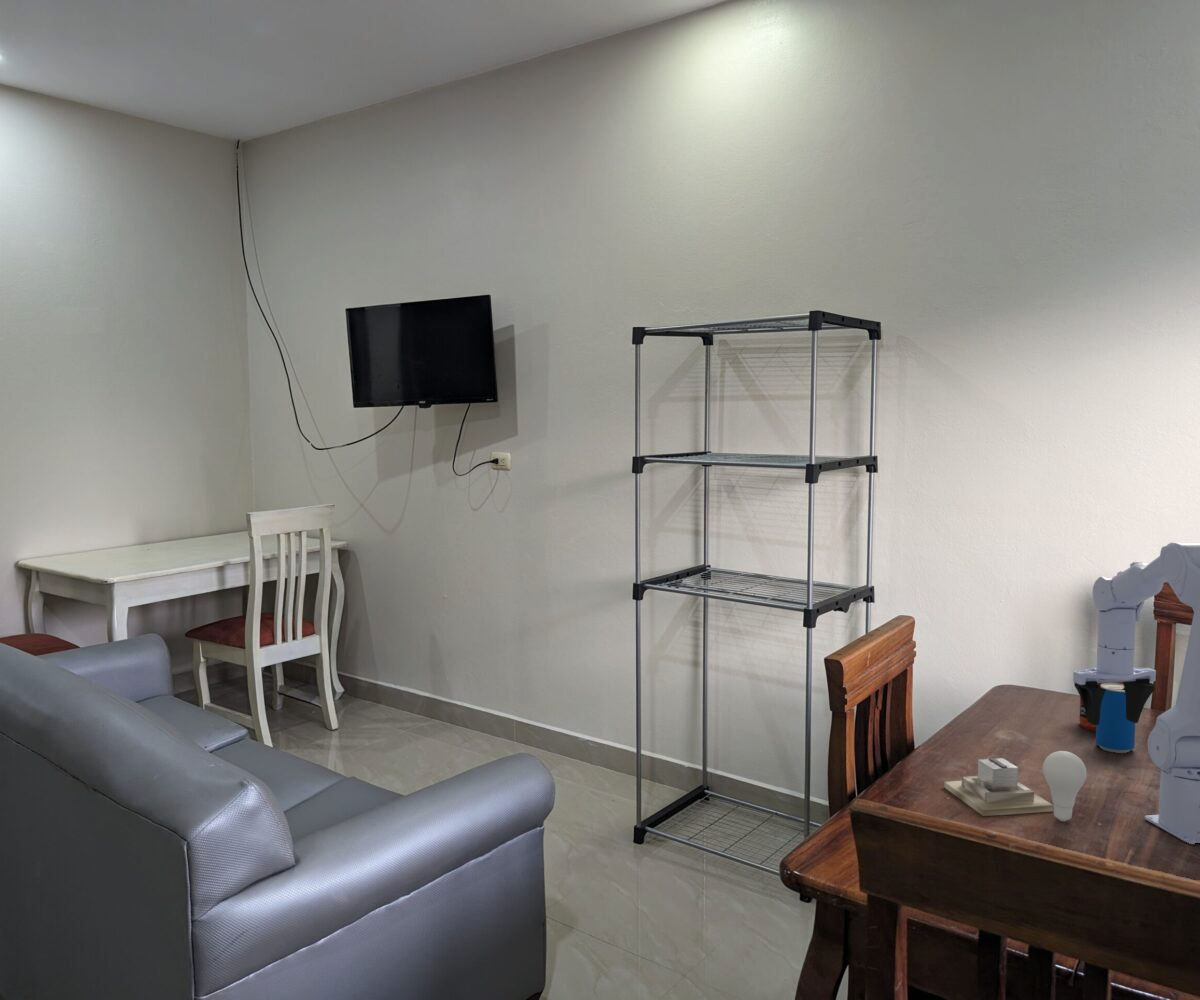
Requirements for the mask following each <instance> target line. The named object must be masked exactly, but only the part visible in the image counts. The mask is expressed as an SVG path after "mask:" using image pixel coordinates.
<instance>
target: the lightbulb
mask: <svg viewBox="0 0 1200 1000" xmlns="http://www.w3.org/2000/svg"><path fill="white" fill-rule="evenodd" d="M1042 773H1043V776H1044V779H1045V781H1046V783H1047V784H1048V786H1049V790H1050V792H1051V802H1052V805H1053V816H1054V817H1055V818H1057V820H1059V821H1060V822H1067V821H1069V820H1071V819H1073V818H1072V817H1073V807H1074V806H1075V804H1076V802H1075V801H1076V797H1077V794H1078V792H1079V791H1080V790H1081V788H1082V787H1083V785H1084V784H1085V782H1086V779H1087V768H1086V764H1085V763H1084V762H1083V761H1082V759H1081V758H1080V757H1079V756H1078V755H1076V754H1075V753H1073V752H1070V751H1067V750H1057V751H1054V752H1052V753H1050V754H1049V755H1048V756H1047V757H1046V758H1045V759H1044V761H1043V764H1042Z"/></svg>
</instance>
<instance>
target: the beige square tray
mask: <svg viewBox="0 0 1200 1000" xmlns="http://www.w3.org/2000/svg"><path fill="white" fill-rule="evenodd" d="M943 783H944V784H943V785H944V786H943V787H944V788H945V789H946V790H947V791H949V792H950V793H951V794H953V796H955V797H957V798H958V799H959V800H961V802H964V803H965V804H966V805H967V806H969V807H970V808H972V809H973V810H974V811H975V812H977V813H978V814H980V815H981V816H983V817H988V816H1004V815H1019V814H1033V813H1034V814H1035V813H1047V812H1048V813H1049V812H1054V804H1053V803H1050V802H1049V801H1047V800H1046V799H1044V798H1043V797H1041V796H1040V795H1038V794H1037V793H1035V791H1034V790H1032V789H1030V788H1029V787H1027V786H1026V785H1024V784H1022V783H1021V782H1019V781H1018V787H1017V791H1003V792H990V791H988V790H987V789H985V788H984V787H982V786H981V785H979V784H978V775H972V776H971V775H968V776H961V780H952V781H951V780H950V781H944V782H943Z"/></svg>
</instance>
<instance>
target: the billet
mask: <svg viewBox="0 0 1200 1000" xmlns="http://www.w3.org/2000/svg"><path fill="white" fill-rule="evenodd" d="M977 776H978V784H979V785H981V786H982V787H984V788H985V789H987V790H988V791H990V792H1003V791H1017V787H1018V782H1019V778H1018V777H1019V766H1017V765H1014V764H1013V763H1011V761H1009V760H1006V759H1005V758H1003V757H1001V758H1000V757H998V758H996V757H995V758H994V757H990V758H981V759H979V758H978V759H977Z"/></svg>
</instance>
